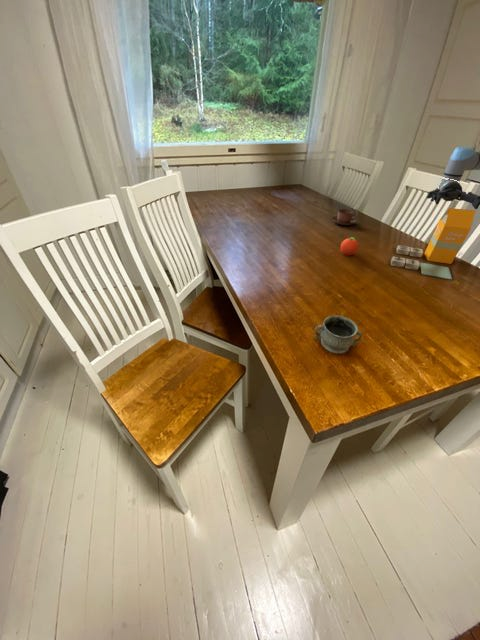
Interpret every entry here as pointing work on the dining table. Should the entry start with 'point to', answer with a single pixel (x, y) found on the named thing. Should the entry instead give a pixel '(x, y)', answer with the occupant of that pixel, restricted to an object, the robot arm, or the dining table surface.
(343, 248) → the tomato
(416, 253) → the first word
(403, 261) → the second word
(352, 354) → the dining table surface
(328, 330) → the vessel
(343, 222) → the cup and saucer
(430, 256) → the orange juice
